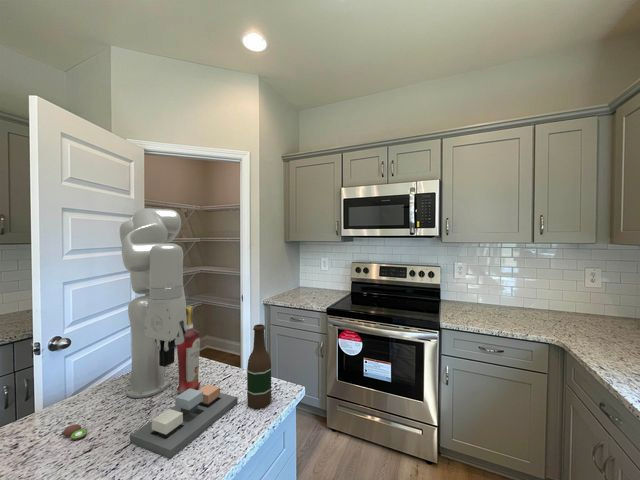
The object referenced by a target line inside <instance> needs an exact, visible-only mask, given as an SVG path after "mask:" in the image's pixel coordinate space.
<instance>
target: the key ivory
mask: <svg viewBox="0 0 640 480" xmlns="http://www.w3.org/2000/svg"><path fill="white" fill-rule="evenodd" d="M151 421H152V430H154V431H157V432H158V436H160V437H162V438H165V439H167V438H168V437H170V436H171V435H173V434H174V433H175V432H177V426H179V425H180V424H181V423H183V413H181V412H178V411H175V410H171V408H168V409H166V410H164V411H162V413H160V414H158V415H157V416H155V417H154V418H152V419H151Z"/></svg>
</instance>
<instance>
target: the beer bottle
mask: <svg viewBox="0 0 640 480" xmlns="http://www.w3.org/2000/svg"><path fill="white" fill-rule="evenodd" d="M252 330H253V331H254V332H253V348H252V352H251V353H250V355H249V357H248V360H247V367H246V368H247V369H246V371H247V373H246V376H247V378H246V387H247V388H246V391H247V397H246V400H247V407H249V408H251V409H253V410H260V409H261V410H262V409H265V408H267V407H268V406H269V405H271V404H272V361H271V356H270V354H269V352H268V351H267V349H266V343H265V342H266V337H265V330H266V327H265V324H261V323H259V324H258V323H257V324H255V325H254V326H253V329H252Z"/></svg>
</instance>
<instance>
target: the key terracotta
mask: <svg viewBox="0 0 640 480" xmlns="http://www.w3.org/2000/svg"><path fill="white" fill-rule="evenodd" d="M197 390H198V391H202V392H203V401H202V402H200V406H203V407H207V408H209V407H210V406H212V405H213V404H214V403H215V399H216V398H217V397H219V396H220V393H221V387H220V386H218V385H212V384H209V383H208V384H205V385H204V386H202V387H200V388H198V389H197Z"/></svg>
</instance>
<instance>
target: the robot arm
mask: <svg viewBox="0 0 640 480" xmlns="http://www.w3.org/2000/svg"><path fill="white" fill-rule="evenodd" d="M181 219H182V218H181V216H180V214H179V213H178V212H177V211H176V210H174V209H169V208H168V209H167V208H163V209H162V208H152V207H151V208H149V207H148V208H146V207H145V208H140V209H138V210H136V211H135V212H134V214H133V215H132V220H126V221H124V222H123V223H121V224H120V226H119V238H120V242H121V255H122V262H123V263H122V264H123V266H124V268H125V270H127V271H129V275H130V285H131V289H132V292H133V293H134V294H137V295H142V296H138V297H135V298H133V299H132V300H131V301H130V302H129V303H128V307H127V314H128V319H129V320H128V321H129V324H130V325H129V326H130V333H131V335H130V337H131V338H130V339H131V341H130V342H131V373H130V374H129V375H127V376H126V379H127V380H129V381H130V385H129V386H128V387H127V388H126V390H125V394H126V396H127V397H129V398H131V399H141V398H142V399H143V398H148V397H151V396H154V395H157V394H159V393H162V392H163V391H165V390H166V389H167V388H168V387H169V385H170V379H169V377H166V376H165V367H166V368H167V367H168V366H170V365H172V364H174V363H175V354H176V353H175V349H177V345H179V344H182V343H184V336H185V335H186V331H187V318H186V308H185V307H187V301H186V300H187V299H186V294H185V289H184V276H183V275H184V270H183V268H184V267H183V266H184V251H183V248H182V246H181V245H178V244H176V243H171V242H173V241H174V240H175V238H176V237H177V236H178V234H179V232H180V231H181V227H182V220H181Z"/></svg>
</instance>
